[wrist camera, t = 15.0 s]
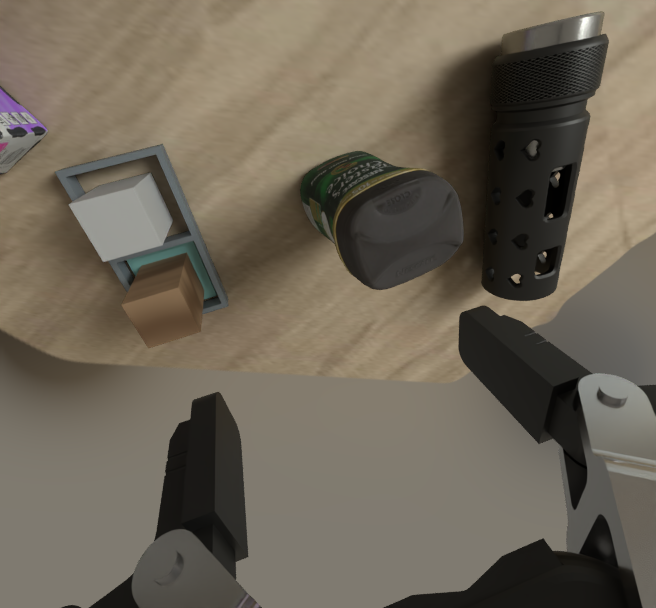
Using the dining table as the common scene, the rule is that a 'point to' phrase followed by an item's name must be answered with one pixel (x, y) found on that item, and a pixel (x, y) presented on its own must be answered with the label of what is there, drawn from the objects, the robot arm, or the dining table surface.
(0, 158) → the candy box
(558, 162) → the muzzle brake
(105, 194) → the divider rack
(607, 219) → the dining table surface
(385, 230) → the coffee jar
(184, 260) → the walnut plug
